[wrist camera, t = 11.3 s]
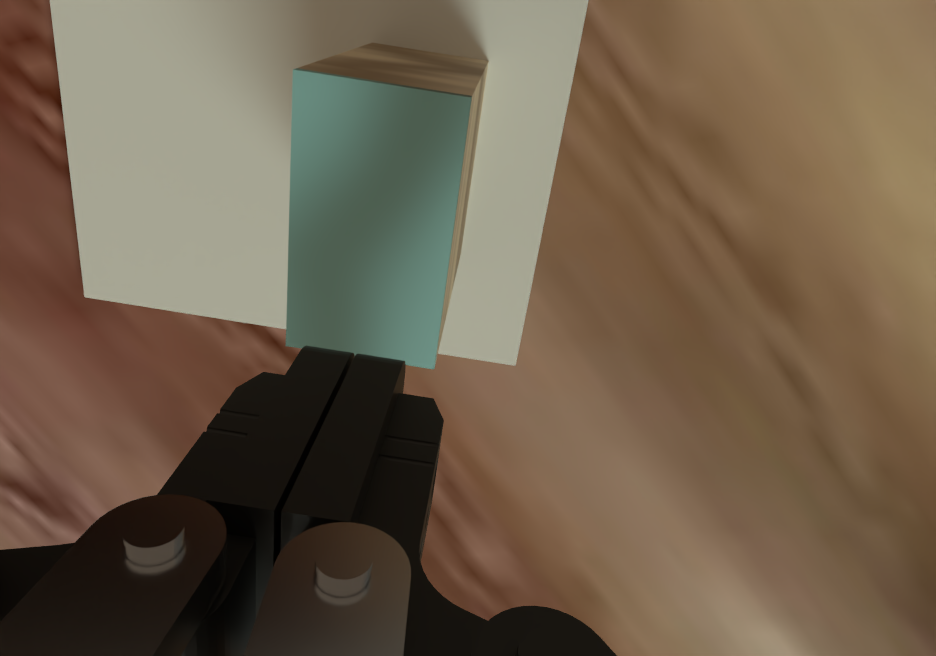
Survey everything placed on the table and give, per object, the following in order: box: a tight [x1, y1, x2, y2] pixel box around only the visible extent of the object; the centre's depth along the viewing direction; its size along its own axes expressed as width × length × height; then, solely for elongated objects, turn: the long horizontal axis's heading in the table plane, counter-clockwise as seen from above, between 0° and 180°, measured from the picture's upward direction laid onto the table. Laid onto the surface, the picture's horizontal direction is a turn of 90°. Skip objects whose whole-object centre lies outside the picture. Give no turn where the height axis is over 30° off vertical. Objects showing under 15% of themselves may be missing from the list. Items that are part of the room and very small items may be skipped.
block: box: [286, 43, 489, 369], centre depth 21 cm, size 4×7×9 cm, turn 172°
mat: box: [50, 0, 588, 366], centre depth 25 cm, size 18×16×1 cm
